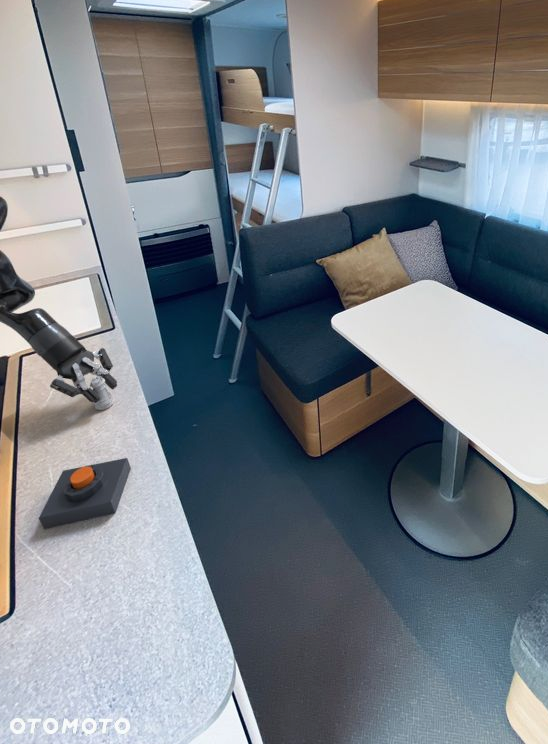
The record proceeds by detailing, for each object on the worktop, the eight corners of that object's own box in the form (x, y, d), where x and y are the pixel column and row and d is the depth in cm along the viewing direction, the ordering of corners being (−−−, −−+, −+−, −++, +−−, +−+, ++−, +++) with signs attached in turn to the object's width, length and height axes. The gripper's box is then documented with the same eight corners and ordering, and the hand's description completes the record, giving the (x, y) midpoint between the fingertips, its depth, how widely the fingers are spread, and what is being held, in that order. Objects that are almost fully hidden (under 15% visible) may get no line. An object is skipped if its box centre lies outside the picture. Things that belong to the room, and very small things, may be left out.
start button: (69, 491, 78) (66, 485, 77) (77, 474, 81) (74, 468, 80) (90, 487, 78) (87, 480, 78) (97, 470, 82) (95, 464, 81)
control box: (44, 529, 76) (34, 511, 74) (67, 481, 85) (60, 464, 83) (115, 513, 78) (108, 495, 76) (131, 468, 87) (125, 451, 85)
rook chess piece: (100, 413, 102) (91, 388, 98) (91, 406, 104) (82, 381, 101) (118, 402, 105) (110, 377, 102) (109, 395, 107) (101, 371, 104)
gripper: (30, 356, 93) (85, 408, 94) (88, 322, 106) (135, 369, 107) (22, 370, 97) (75, 420, 98) (79, 336, 109) (125, 381, 110)
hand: (106, 393), depth 102 cm, fingers open, 4 cm apart
